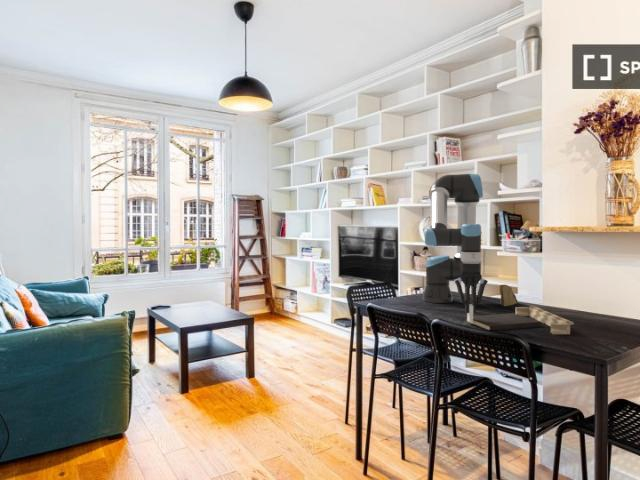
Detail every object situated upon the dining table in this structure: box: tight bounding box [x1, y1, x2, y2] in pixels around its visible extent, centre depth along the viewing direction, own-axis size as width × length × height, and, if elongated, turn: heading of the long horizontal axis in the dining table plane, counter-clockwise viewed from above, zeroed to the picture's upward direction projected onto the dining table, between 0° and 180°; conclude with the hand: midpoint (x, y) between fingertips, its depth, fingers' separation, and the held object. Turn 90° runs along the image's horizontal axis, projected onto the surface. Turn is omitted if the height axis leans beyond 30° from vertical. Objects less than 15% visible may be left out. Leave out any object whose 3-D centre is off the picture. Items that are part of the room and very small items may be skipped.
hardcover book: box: [465, 312, 542, 331], centre depth 171 cm, size 16×23×2 cm
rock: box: [499, 284, 519, 307], centre depth 210 cm, size 11×9×10 cm
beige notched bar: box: [514, 304, 574, 335], centre depth 171 cm, size 31×8×4 cm, turn 178°
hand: (470, 320), depth 171 cm, fingers closed
